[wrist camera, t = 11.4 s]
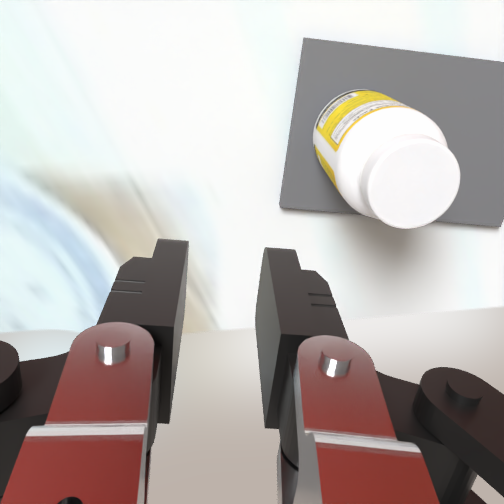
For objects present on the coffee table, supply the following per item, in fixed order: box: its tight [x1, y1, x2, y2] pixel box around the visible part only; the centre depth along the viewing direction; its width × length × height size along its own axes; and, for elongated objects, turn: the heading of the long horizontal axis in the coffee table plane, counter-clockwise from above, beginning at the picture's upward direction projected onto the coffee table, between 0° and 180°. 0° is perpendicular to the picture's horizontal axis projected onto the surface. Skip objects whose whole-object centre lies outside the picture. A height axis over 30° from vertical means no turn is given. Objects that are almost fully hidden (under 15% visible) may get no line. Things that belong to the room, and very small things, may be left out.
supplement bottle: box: [313, 89, 460, 229], centre depth 24 cm, size 5×5×10 cm
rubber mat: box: [279, 38, 504, 227], centre depth 30 cm, size 15×10×1 cm, turn 83°
